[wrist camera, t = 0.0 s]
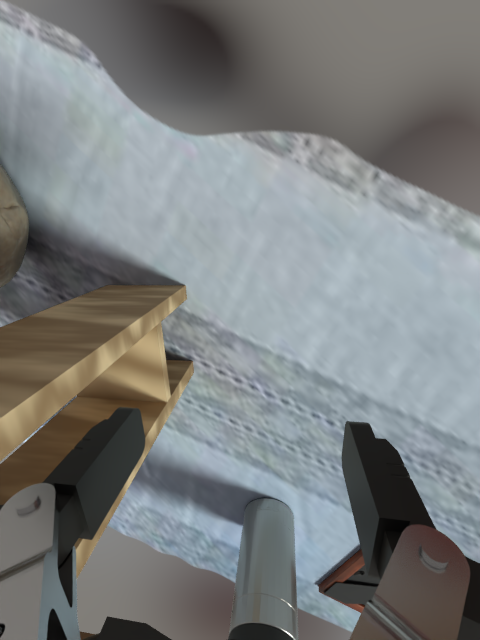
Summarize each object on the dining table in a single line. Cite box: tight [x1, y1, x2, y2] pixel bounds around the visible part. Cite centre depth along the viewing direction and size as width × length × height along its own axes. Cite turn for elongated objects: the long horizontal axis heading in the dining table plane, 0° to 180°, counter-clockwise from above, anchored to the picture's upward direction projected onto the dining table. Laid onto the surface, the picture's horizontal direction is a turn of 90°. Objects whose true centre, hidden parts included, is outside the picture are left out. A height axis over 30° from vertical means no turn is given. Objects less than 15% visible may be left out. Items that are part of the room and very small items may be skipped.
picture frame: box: [318, 549, 381, 613], centre depth 55 cm, size 20×2×25 cm
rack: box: [0, 285, 194, 579], centre depth 28 cm, size 14×12×34 cm
